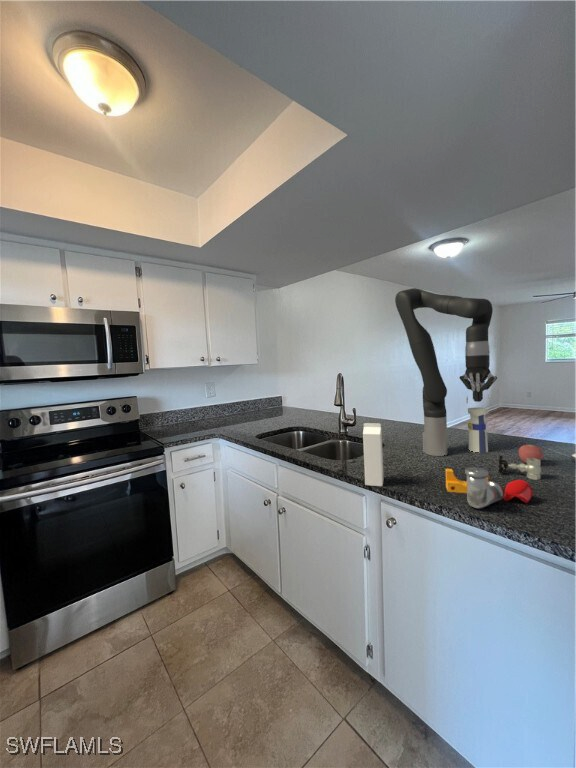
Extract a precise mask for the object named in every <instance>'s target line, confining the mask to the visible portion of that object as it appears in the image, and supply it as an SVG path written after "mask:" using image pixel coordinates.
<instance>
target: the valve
mask: <svg viewBox="0 0 576 768" xmlns="http://www.w3.org/2000/svg"><path fill="white" fill-rule="evenodd" d="M498 457H499V459H498V463H499V465H498V473H499V474H504V472H505V471H507V469H509V468H511V469H513V470H516V469H518V470H520V472H521V473H525V472H526V478H528V479H529V480H536V481H537V480H538V481H539V480H541V473H542V467H541V461H542V460H541V461H540V460H538V459H534V458H528V459H527V463H526V464H525V462H520V464H519V463H518V464H517V463H509V462H508V461H507V460H505V459H504V456H503V455H499V456H498Z"/></svg>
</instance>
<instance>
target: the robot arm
mask: <svg viewBox="0 0 576 768" xmlns="http://www.w3.org/2000/svg"><path fill="white" fill-rule="evenodd" d="M395 307H396V309H397V312H398V314H399V317H400V319H401V323H402V324H403V326H404V330H405V333H406V335H407V336H406V337H407V340H408V344H409V347H410V351H411V355H412V357H413V359H414V362H415V364H416V366H417V367H418V369H419V372H420V375H421V379H422V383H423V386H422V407H423V426H424V428H423V429H424V431H422V453H425V454H426V455H429V456H432V457H433V456H434V457H444V455H445V456H447V455H448V425H447V420H448V419H447V408H446V397H447V395H448V388H447V386H446V383H445V382H444V380H443V377H442V374H441V372H440V369H439V364H438V360H437V359H438V358H437V354H436V350H435V346H434V342H433V339H432V336H431V334H430V332H428V330H427V329H426V328H425V327H424V326H423V325H422V324H421V323H420V322H419V320H418V319H417V317H416V314H415V310H417V309H420V308H421V309H422V308H425V309H426V308H427V309H428V308H429V309H433V310H434V311H435V312H438V313H440V314H444V315H445V314H446V315H450V316H457V317H460V318H464V319H471V320H472V322H471V325H470V326H468V327H467V328H466V330H465V348H464V349H465V351H464V352H465V353H464V355H465V356H464V357H465V369H466V370H465V371H464V374H462V375H460V376H459V379H460V382H462V383H463V385H464V386H465V388H466V389H467V390H470V391H472V400H473V401H474V402H476V403H479V402H482V401H483V399H484V396H483V395H484V391H486V390H487V391H488V390H489V389H490V388H491V387H492V386H493V384H494V383H495V382H496V381H497V379H498V377H497V376H494V375H493V374H492V372H491V370H490V366H491V365H490V360H491V359H490V352H491V351H490V344H489V343H490V342H489V327H490V324H491V321H492V317H493V304H492V303H491V301H490V300H489V299H486V298H477V297H476V298H475V297H462V296H458V295H448V294H438V293H434V292H430V291H427V290H423V289H420V288H415V287H414V288H409V289H403V290H401V291H397V293H396V295H395Z"/></svg>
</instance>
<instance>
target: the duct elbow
mask: <svg viewBox="0 0 576 768" xmlns="http://www.w3.org/2000/svg"><path fill="white" fill-rule="evenodd" d="M464 474H465V475H466V481H467V493H466V499H467V503H468V504H469V506H471V507H473V508H475V509H478V510H480V509H484V508H485V507H488V506H490V505H491V504H494V503H496V502H499V501H501V500H502V499H504V494H505V491H504V489H503V487H502V486H501V485H500V484H499V483H497V482H495V481H492V480H488V482H487V477H488V478H489V471H488V470H486V469H485V468H481V467H473V466H472V467H466V468H465V469H464Z"/></svg>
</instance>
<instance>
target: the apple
mask: <svg viewBox="0 0 576 768" xmlns="http://www.w3.org/2000/svg"><path fill="white" fill-rule="evenodd" d="M518 456H519V458H520V460H521V461H522V462H523V463H524V464H525V463H526V464H527V459H528V458H534V459H538V460H540V461H542V460H543V457H544V452H543V450H542V449H541V448H540V447H538V446H537V445H533V444H524V445H521V446H520V447H519V449H518Z"/></svg>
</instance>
